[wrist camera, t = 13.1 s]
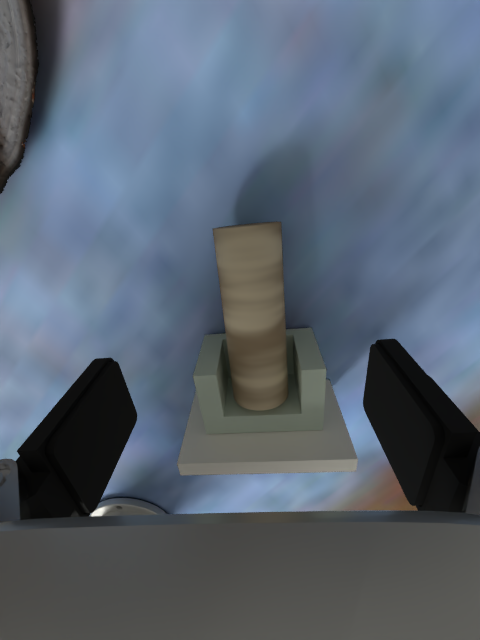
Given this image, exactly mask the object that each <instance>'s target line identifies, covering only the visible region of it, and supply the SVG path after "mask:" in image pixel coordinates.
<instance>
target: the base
mask: <svg viewBox="0 0 480 640" xmlns="http://www.w3.org/2000/svg"><path fill="white" fill-rule="evenodd" d="M357 462H358V458H357V455H356V453H355V450H354V447H353V444H352V441H351V438H350V436H349V433H348V430H347V427H346V424H345V422H344V419H343V416H342V413H341V410H340V408H339V405H338V402H337V399H336V396H335V394H334V391H333V388H332V385H331V382H330V380H326V386H325V404H324V422H323V430H308V431H279V432H251V433H223V434H206V430H205V426H204V422H203V417H202V413H201V409H200V405H199V400H198V396H197V392H195V396H194V400H193V403H192V407H191V411H190V415H189V419H188V423H187V427H186V431H185V435H184V438H183V442H182V446H181V450H180V454H179V458H178V462H177V466H178V469H179V472H180V475H221V474H266V473H310V472H355V471H356V468H357Z"/></svg>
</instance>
